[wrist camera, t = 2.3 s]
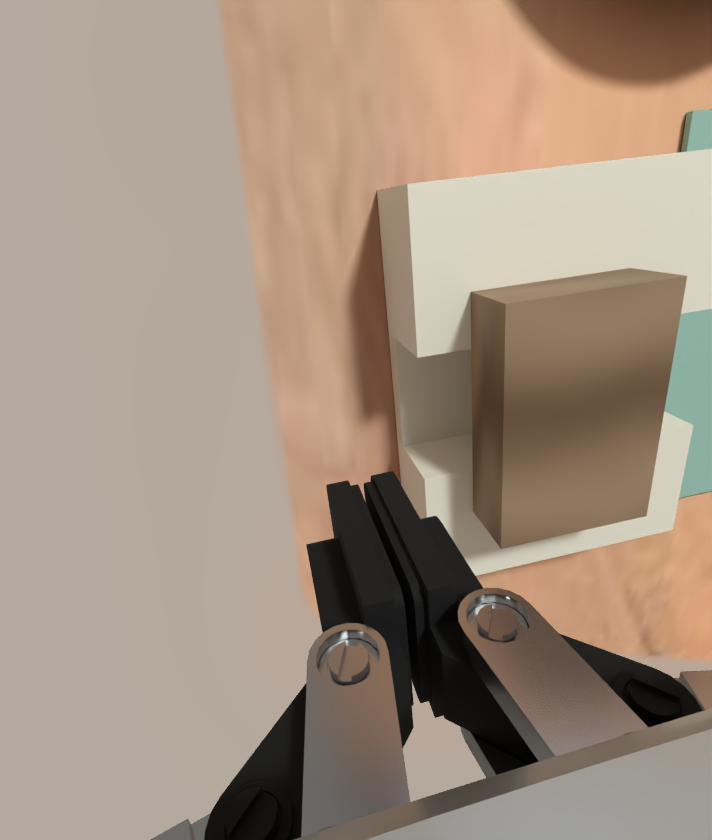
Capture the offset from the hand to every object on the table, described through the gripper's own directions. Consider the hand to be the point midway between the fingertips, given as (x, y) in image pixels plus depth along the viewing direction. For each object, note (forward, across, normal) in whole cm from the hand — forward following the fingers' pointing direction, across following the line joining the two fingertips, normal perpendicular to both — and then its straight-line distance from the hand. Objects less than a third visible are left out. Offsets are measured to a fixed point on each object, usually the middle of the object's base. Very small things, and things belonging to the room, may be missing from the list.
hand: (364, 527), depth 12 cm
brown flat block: (+6, -8, 0) cm, 10 cm away
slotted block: (+10, -10, 0) cm, 14 cm away
